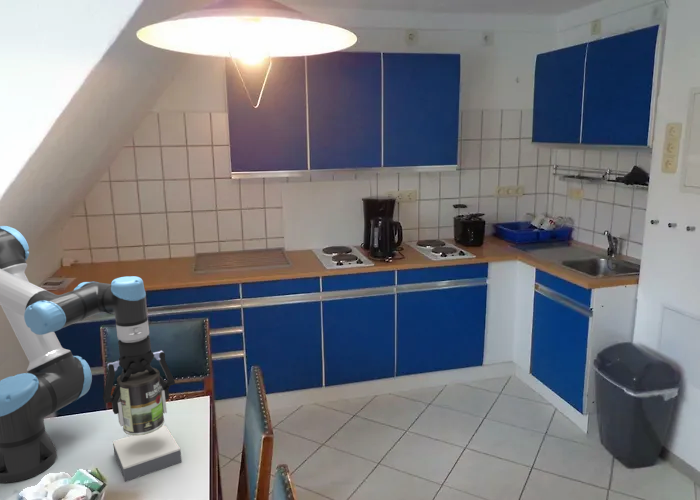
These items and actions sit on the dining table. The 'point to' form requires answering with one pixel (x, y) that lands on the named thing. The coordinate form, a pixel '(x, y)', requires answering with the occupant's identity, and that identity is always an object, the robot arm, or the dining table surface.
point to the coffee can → (141, 403)
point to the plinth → (146, 453)
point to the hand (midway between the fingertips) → (143, 417)
